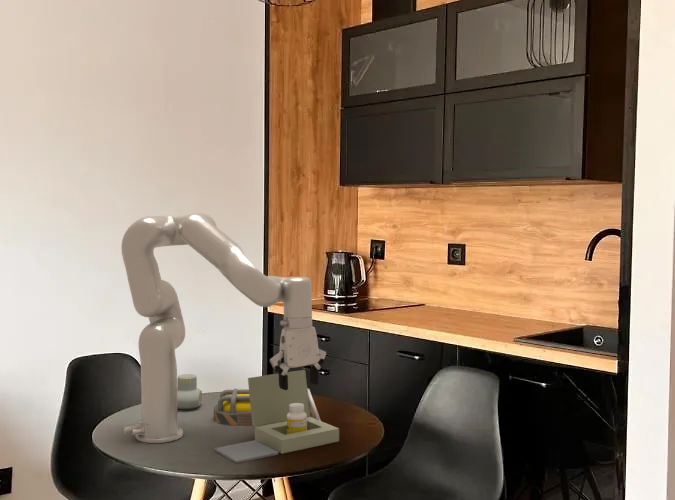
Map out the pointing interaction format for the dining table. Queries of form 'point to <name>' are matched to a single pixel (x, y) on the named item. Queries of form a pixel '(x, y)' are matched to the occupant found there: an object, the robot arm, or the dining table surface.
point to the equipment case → (274, 407)
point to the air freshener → (188, 392)
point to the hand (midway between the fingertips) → (299, 386)
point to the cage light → (238, 408)
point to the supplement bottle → (296, 418)
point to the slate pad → (246, 451)
